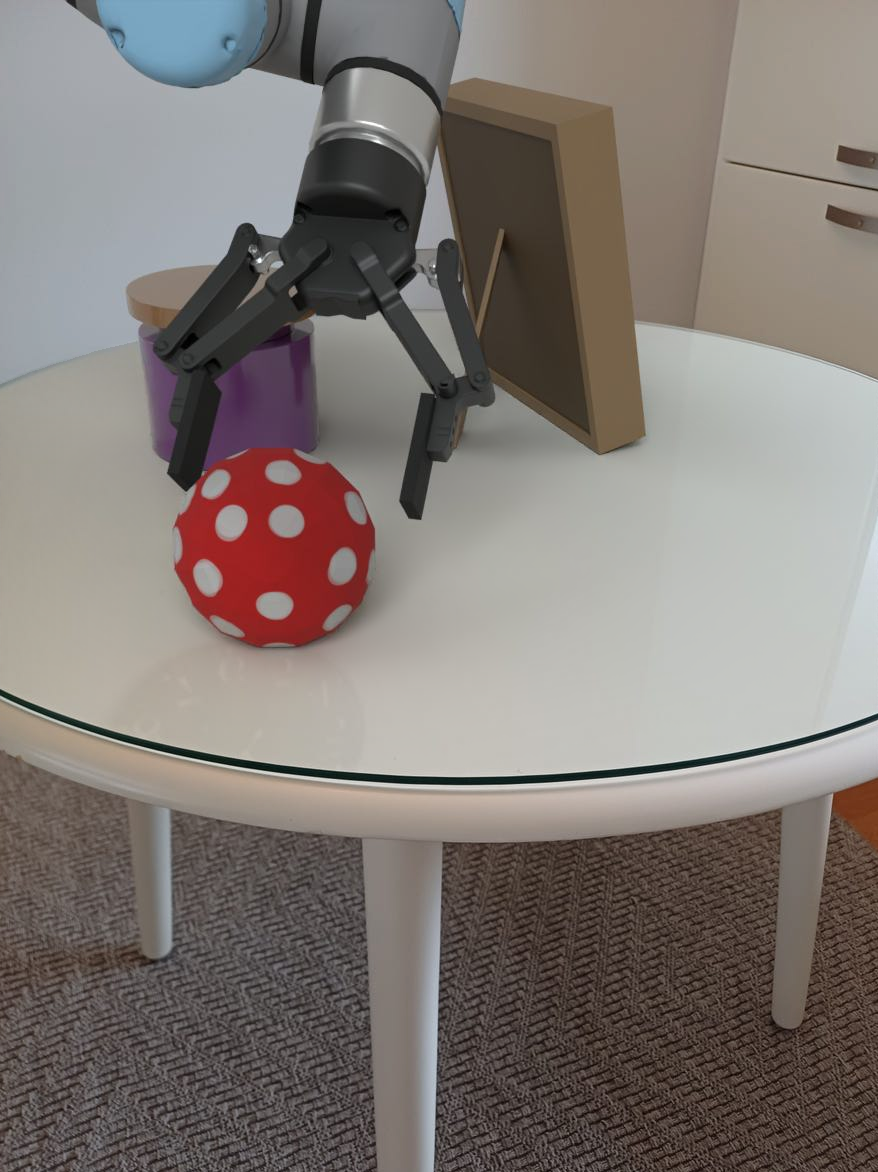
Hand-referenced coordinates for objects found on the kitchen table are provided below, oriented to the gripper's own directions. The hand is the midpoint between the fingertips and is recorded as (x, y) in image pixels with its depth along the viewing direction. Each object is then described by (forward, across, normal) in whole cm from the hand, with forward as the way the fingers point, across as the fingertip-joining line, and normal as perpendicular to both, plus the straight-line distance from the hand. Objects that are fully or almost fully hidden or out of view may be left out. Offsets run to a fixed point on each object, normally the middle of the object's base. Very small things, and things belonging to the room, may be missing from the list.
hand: (294, 497), depth 63 cm
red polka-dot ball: (+5, 0, -5) cm, 7 cm away
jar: (-12, +14, -21) cm, 28 cm away
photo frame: (-20, -5, -30) cm, 36 cm away
